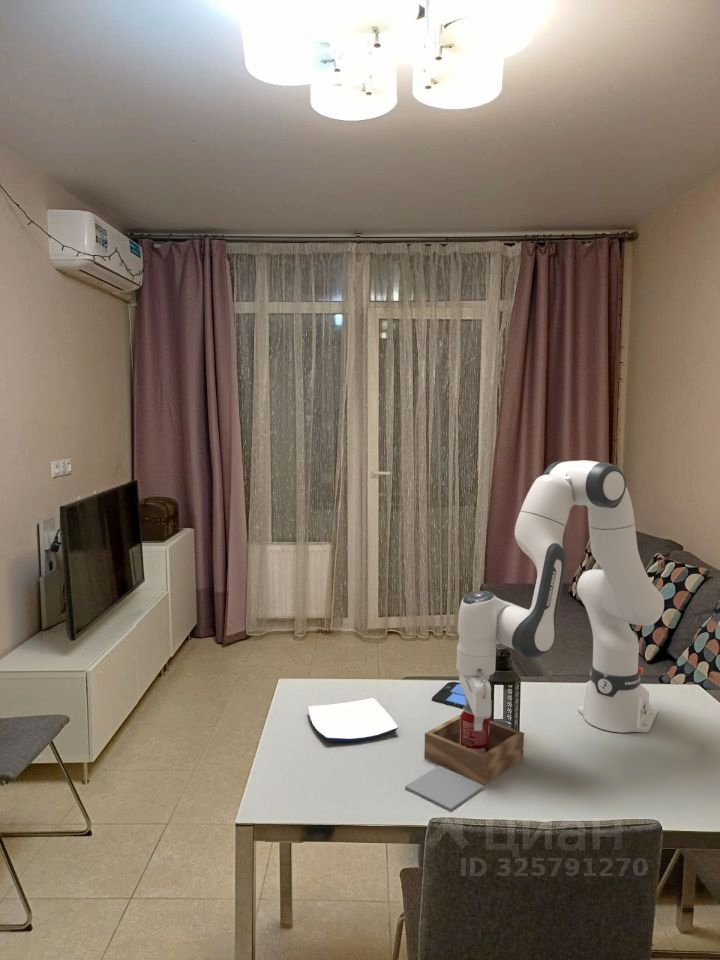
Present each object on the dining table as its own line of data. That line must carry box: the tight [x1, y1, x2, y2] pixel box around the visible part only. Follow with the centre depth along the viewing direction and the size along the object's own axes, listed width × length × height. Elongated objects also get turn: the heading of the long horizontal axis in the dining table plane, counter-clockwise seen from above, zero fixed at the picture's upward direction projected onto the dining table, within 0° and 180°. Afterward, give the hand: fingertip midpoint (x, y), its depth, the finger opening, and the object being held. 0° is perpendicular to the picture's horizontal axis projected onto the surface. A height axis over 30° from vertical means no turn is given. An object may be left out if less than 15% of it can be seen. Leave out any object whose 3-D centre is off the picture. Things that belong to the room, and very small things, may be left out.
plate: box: [307, 697, 399, 742], centre depth 176 cm, size 20×20×3 cm
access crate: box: [423, 714, 525, 785], centre depth 160 cm, size 16×16×6 cm
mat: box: [404, 765, 485, 812], centre depth 147 cm, size 12×12×1 cm
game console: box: [431, 681, 466, 710], centre depth 193 cm, size 14×13×2 cm
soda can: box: [459, 704, 491, 754], centre depth 159 cm, size 7×7×12 cm
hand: (473, 720), depth 159 cm, fingers open, 8 cm apart
